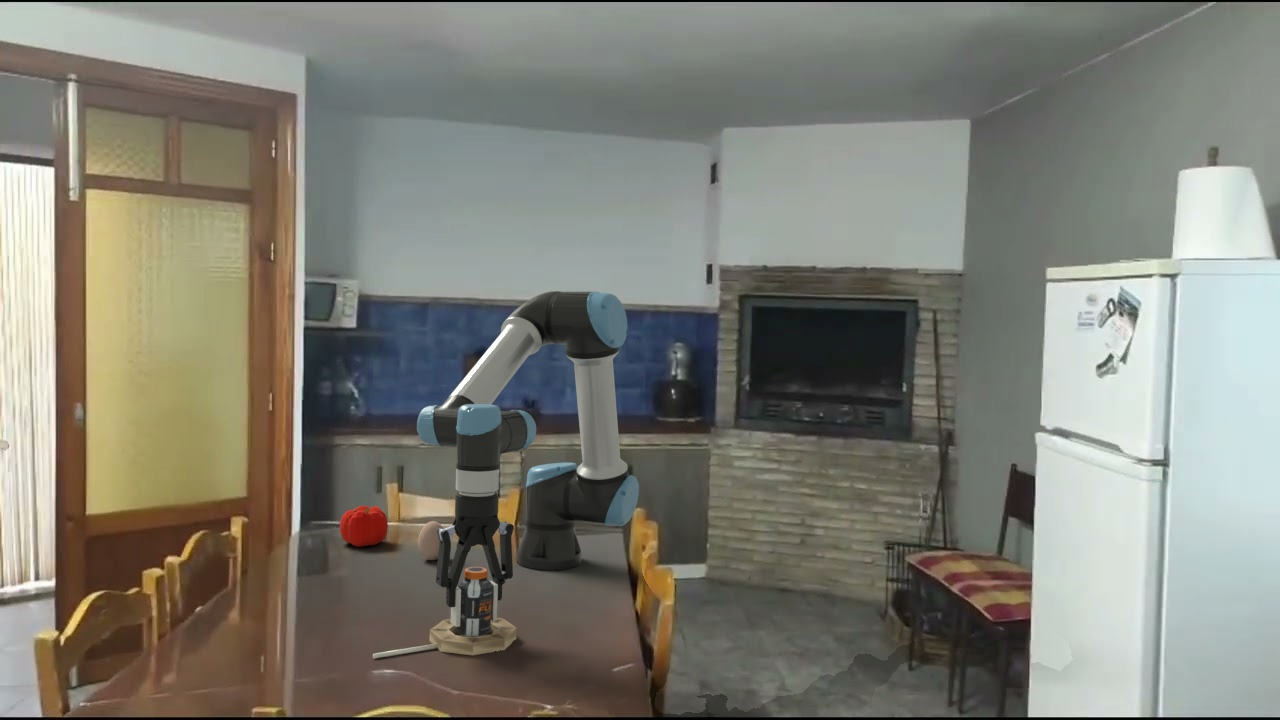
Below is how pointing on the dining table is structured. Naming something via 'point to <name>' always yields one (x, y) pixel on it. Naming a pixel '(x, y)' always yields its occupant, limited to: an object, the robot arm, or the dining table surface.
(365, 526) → the tomato
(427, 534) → the egg
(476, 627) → the pill bottle
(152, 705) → the dining table surface
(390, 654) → the white thin rod
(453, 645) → the beige flat ring
